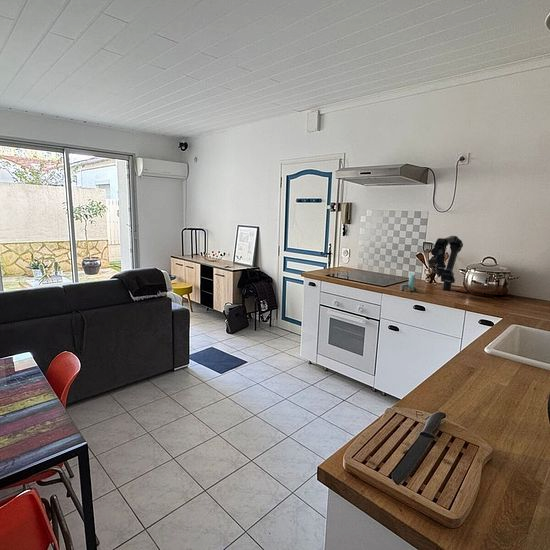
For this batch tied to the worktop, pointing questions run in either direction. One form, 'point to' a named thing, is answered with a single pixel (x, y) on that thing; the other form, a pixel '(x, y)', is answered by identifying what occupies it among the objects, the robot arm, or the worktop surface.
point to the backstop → (403, 286)
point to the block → (409, 289)
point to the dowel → (411, 282)
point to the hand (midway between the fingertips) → (438, 276)
